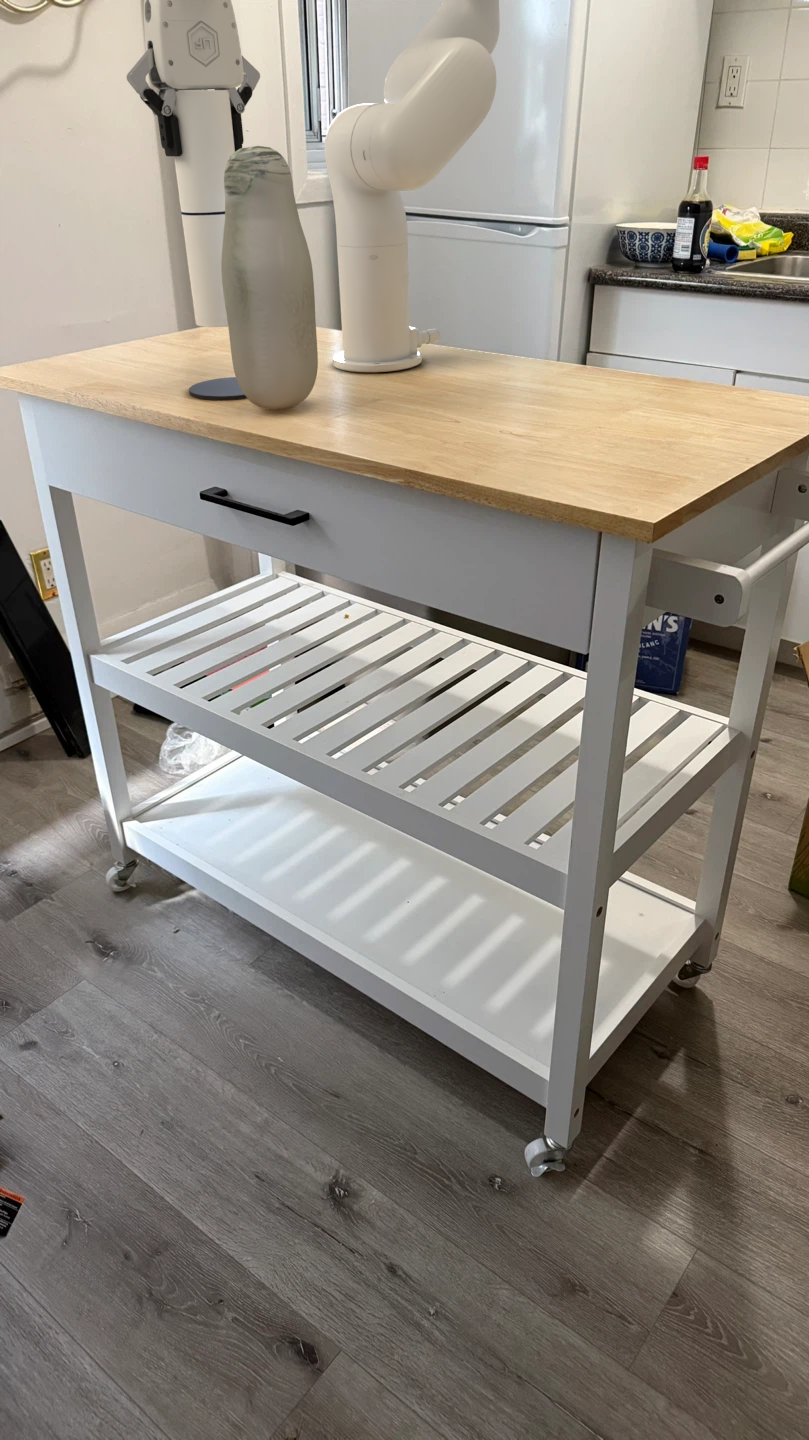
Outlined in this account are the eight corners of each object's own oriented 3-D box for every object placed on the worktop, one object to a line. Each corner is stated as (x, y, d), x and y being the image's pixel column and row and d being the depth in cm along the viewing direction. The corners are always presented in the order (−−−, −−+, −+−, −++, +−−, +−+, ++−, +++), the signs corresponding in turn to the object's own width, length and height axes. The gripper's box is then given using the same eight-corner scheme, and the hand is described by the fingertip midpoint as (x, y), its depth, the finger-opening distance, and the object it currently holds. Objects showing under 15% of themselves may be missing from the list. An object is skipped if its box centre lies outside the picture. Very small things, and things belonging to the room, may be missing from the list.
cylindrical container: (205, 329, 126) (175, 91, 113) (188, 321, 132) (158, 93, 119) (260, 322, 129) (237, 89, 116) (241, 315, 134) (217, 91, 122)
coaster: (252, 376, 141) (252, 373, 141) (287, 391, 133) (287, 387, 133) (176, 388, 136) (176, 384, 136) (208, 404, 128) (207, 400, 128)
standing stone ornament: (256, 396, 131) (231, 145, 117) (332, 399, 129) (315, 143, 114) (224, 416, 123) (192, 148, 109) (304, 419, 120) (282, 146, 106)
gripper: (121, -39, 105) (149, 158, 114) (269, -33, 113) (284, 150, 122) (93, -31, 110) (122, 158, 119) (237, -25, 119) (253, 150, 128)
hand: (204, 153), depth 121 cm, fingers closed on cylindrical container, 7 cm apart
